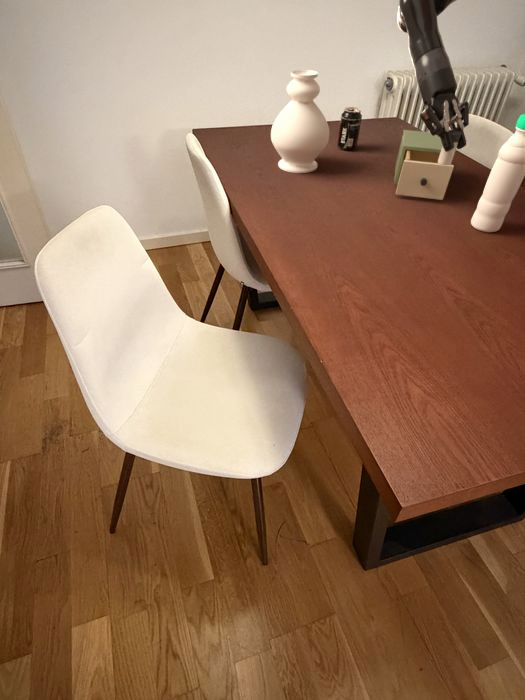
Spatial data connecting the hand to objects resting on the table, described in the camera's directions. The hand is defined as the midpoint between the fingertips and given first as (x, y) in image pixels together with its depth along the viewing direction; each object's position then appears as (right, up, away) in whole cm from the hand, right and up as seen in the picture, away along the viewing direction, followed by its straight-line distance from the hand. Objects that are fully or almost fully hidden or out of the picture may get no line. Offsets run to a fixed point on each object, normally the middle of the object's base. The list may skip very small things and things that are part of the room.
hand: (456, 148), depth 95 cm
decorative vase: (-35, +11, +33) cm, 50 cm away
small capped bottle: (-1, -2, +4) cm, 4 cm away
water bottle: (+10, -17, +6) cm, 21 cm away
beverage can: (-17, +23, +45) cm, 54 cm away
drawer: (-1, -1, +20) cm, 20 cm away
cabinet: (+1, +5, +28) cm, 28 cm away
